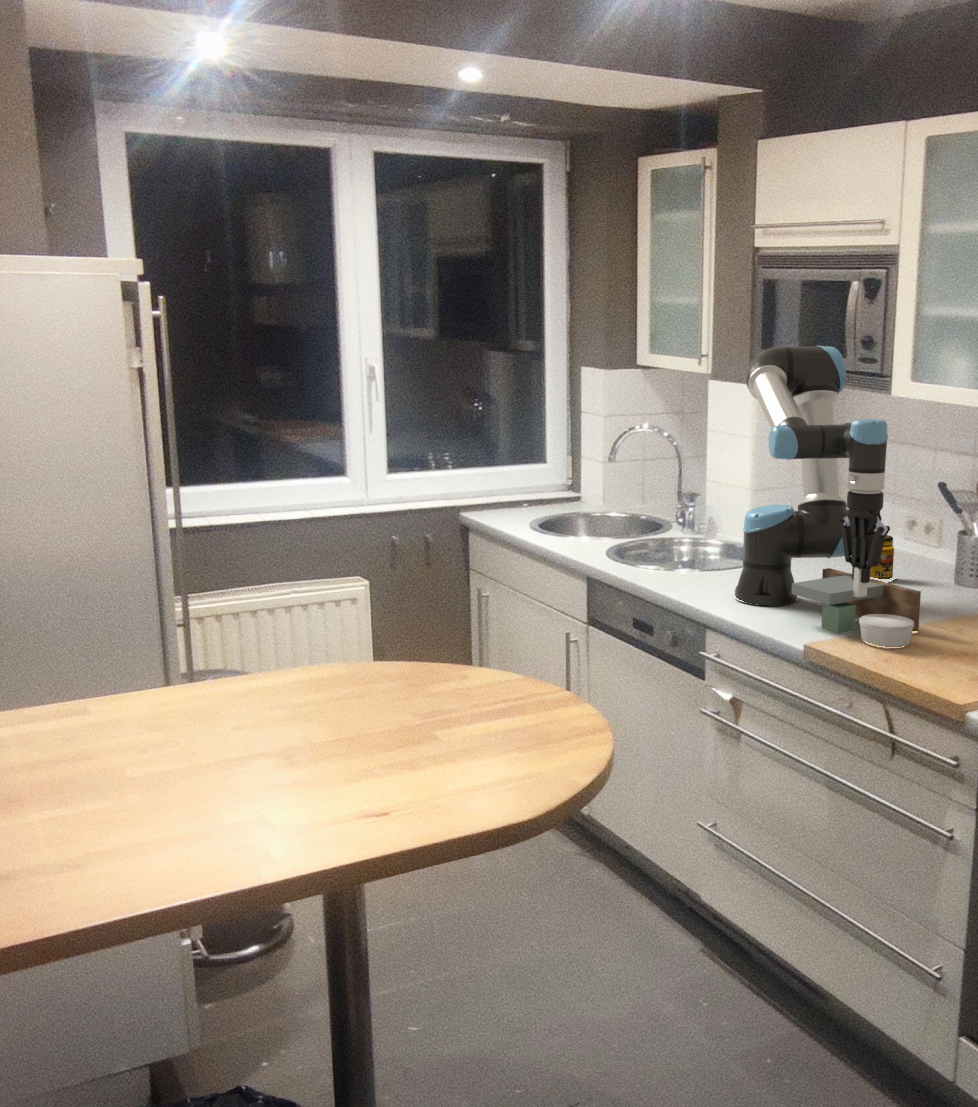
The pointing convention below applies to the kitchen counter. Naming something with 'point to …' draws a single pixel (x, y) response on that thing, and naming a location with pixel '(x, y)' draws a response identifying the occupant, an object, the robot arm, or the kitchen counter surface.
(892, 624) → the ramekin
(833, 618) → the block
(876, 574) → the condiment
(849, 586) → the lid
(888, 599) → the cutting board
